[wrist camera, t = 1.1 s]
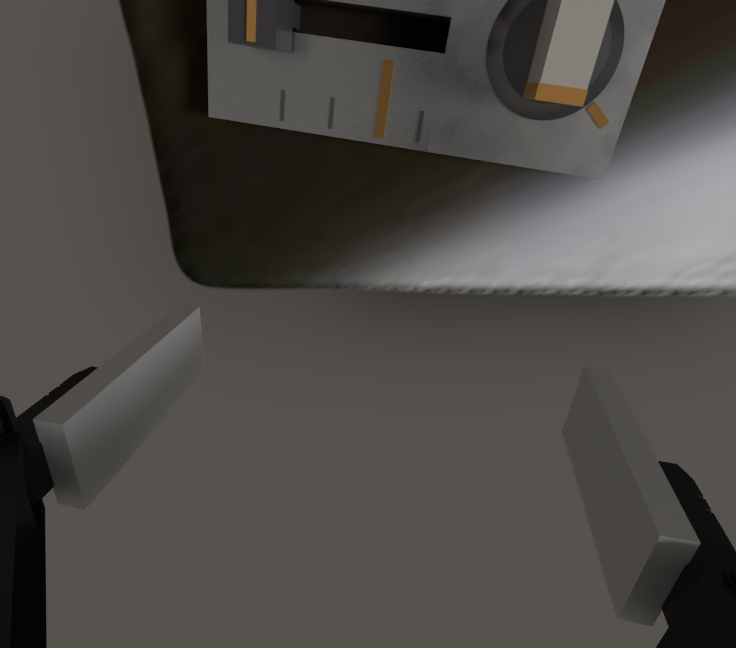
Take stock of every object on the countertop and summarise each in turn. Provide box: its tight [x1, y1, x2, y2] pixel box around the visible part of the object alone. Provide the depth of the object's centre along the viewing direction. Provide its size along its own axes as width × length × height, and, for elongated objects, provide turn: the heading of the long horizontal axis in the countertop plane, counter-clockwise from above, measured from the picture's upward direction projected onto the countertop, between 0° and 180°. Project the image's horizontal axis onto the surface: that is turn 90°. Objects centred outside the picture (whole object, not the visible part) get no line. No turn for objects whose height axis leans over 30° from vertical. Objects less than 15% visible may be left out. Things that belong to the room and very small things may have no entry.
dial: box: [503, 0, 614, 107], centre depth 27 cm, size 6×6×6 cm
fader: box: [228, 0, 301, 53], centre depth 31 cm, size 4×3×6 cm
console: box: [207, 0, 666, 180], centre depth 32 cm, size 14×28×3 cm, turn 83°
